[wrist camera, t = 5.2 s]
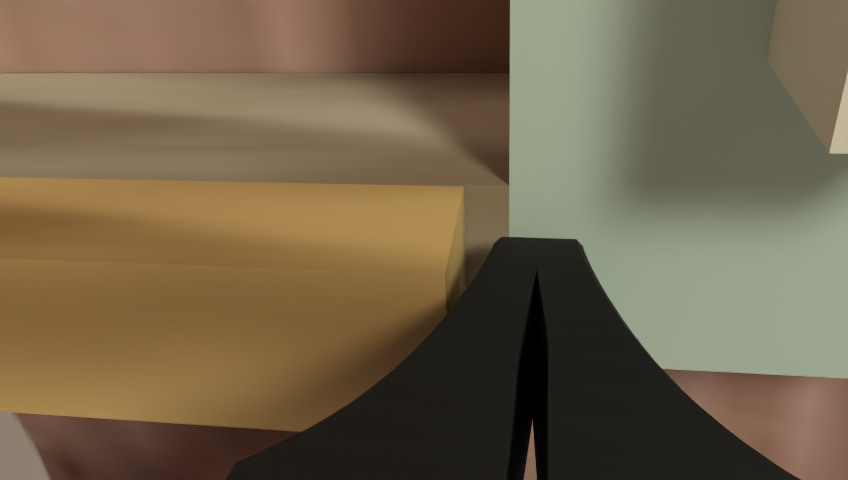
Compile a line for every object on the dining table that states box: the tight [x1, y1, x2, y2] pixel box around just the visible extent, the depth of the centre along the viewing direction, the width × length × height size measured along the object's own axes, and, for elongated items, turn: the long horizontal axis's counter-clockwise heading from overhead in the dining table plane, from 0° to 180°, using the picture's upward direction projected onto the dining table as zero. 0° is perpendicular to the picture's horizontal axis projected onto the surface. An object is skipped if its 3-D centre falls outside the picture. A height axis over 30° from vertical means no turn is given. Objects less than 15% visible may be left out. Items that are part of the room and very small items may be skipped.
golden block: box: [0, 177, 467, 432], centre depth 13 cm, size 3×11×2 cm, turn 93°
